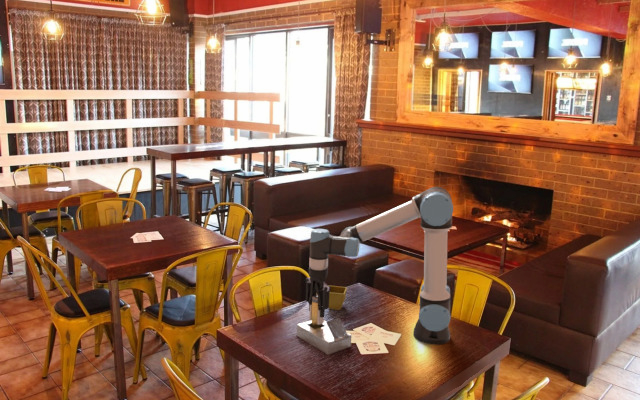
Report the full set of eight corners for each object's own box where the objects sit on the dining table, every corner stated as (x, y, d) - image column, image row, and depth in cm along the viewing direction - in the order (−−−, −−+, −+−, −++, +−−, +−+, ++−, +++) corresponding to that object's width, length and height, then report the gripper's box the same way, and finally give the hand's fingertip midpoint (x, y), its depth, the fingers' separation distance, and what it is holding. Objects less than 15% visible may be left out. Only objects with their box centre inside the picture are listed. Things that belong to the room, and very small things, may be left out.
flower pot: (343, 312, 259) (344, 293, 258) (324, 310, 261) (325, 291, 259) (346, 305, 268) (347, 287, 266) (328, 303, 270) (328, 285, 268)
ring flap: (325, 322, 222) (327, 321, 222) (338, 318, 227) (340, 317, 226) (334, 343, 219) (336, 341, 218) (348, 338, 223) (349, 337, 223)
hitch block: (296, 335, 234) (297, 324, 233) (319, 328, 242) (319, 317, 241) (328, 354, 219) (328, 342, 218) (350, 346, 227) (351, 334, 226)
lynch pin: (322, 333, 233) (324, 296, 230) (315, 336, 231) (316, 298, 228) (316, 330, 236) (317, 293, 233) (309, 332, 234) (310, 295, 231)
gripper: (340, 271, 224) (337, 326, 228) (312, 259, 237) (310, 312, 242) (325, 275, 219) (322, 331, 224) (297, 263, 232) (296, 316, 237)
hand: (316, 321), depth 233 cm, fingers open, 4 cm apart
